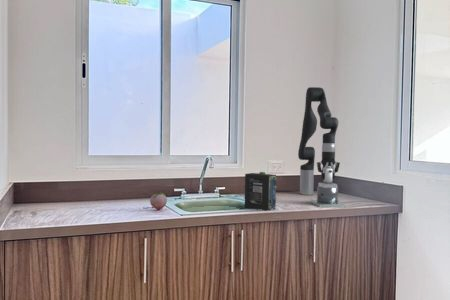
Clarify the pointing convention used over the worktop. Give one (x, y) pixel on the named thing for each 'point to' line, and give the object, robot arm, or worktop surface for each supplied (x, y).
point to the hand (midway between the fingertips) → (327, 179)
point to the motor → (327, 196)
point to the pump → (328, 174)
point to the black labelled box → (260, 191)
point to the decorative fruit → (158, 201)
